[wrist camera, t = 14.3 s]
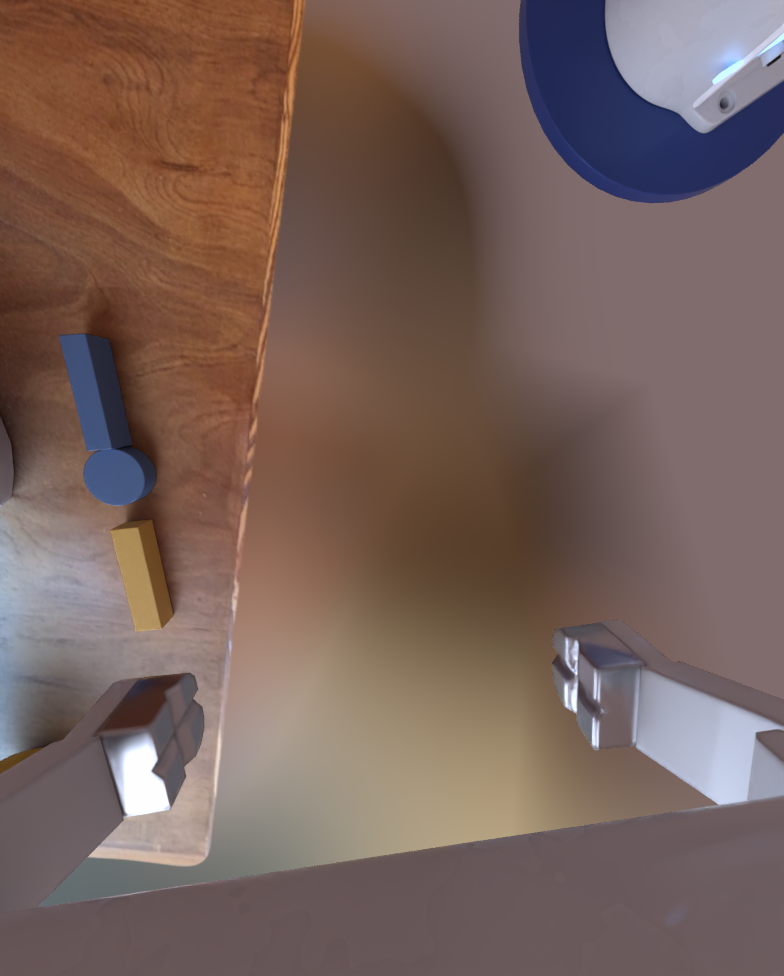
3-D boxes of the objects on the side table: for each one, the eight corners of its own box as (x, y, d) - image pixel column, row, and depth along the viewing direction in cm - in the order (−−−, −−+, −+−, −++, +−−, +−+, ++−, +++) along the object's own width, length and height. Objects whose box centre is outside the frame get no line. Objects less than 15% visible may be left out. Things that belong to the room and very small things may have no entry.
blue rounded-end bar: (66, 342, 33) (38, 336, 30) (127, 337, 33) (105, 331, 31) (105, 502, 36) (83, 511, 33) (161, 497, 36) (143, 505, 34)
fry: (125, 521, 37) (109, 529, 34) (152, 519, 37) (138, 527, 34) (149, 618, 39) (135, 632, 37) (174, 615, 39) (161, 629, 37)
